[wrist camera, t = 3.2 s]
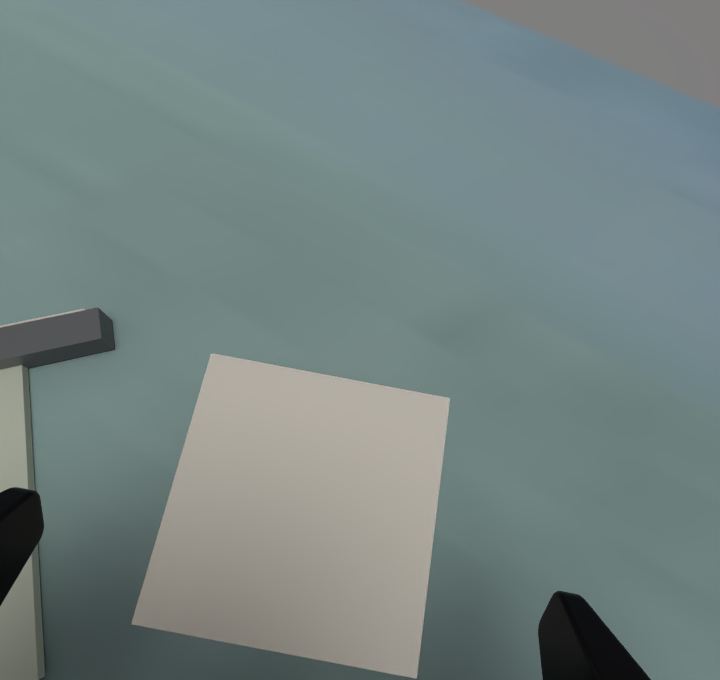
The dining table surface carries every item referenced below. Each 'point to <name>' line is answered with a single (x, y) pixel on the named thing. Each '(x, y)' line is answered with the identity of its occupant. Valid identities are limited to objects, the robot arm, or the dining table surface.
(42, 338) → the rail
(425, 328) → the dining table surface
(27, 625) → the pad
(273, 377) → the carton
